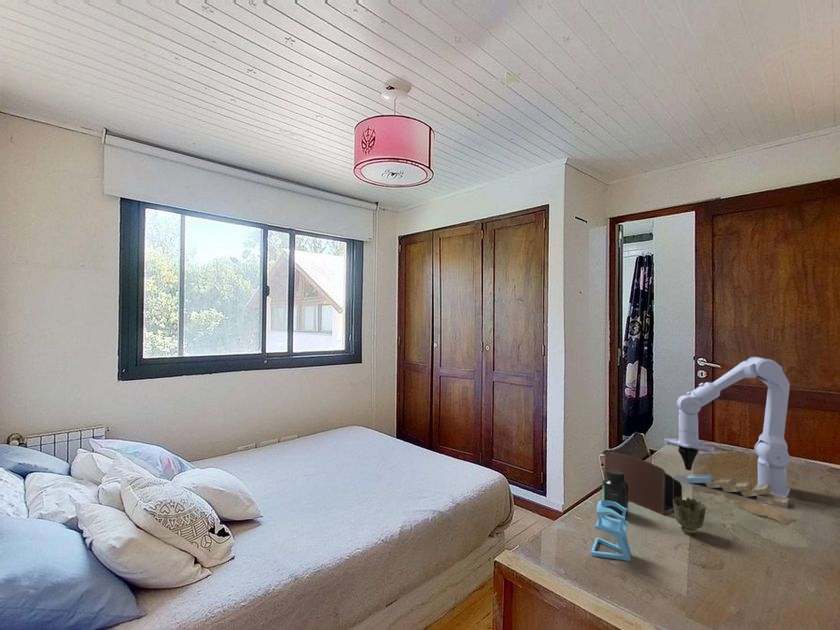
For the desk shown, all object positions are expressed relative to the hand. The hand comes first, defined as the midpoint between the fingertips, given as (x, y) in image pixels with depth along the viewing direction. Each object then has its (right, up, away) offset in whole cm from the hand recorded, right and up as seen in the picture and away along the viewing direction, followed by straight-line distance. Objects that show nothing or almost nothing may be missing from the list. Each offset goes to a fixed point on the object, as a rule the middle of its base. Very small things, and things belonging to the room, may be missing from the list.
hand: (688, 469), depth 142 cm
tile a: (+4, -3, -4) cm, 7 cm away
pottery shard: (+6, -5, -23) cm, 24 cm away
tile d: (+13, -3, -14) cm, 19 cm away
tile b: (+7, -3, -8) cm, 11 cm away
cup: (-22, -4, -34) cm, 40 cm away
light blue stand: (-47, -4, -43) cm, 64 cm away
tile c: (+10, -3, -11) cm, 16 cm away
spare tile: (0, -3, 0) cm, 3 cm away
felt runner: (+6, -4, -6) cm, 9 cm away
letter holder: (-24, -5, -13) cm, 28 cm away
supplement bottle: (-36, -4, -22) cm, 43 cm away
